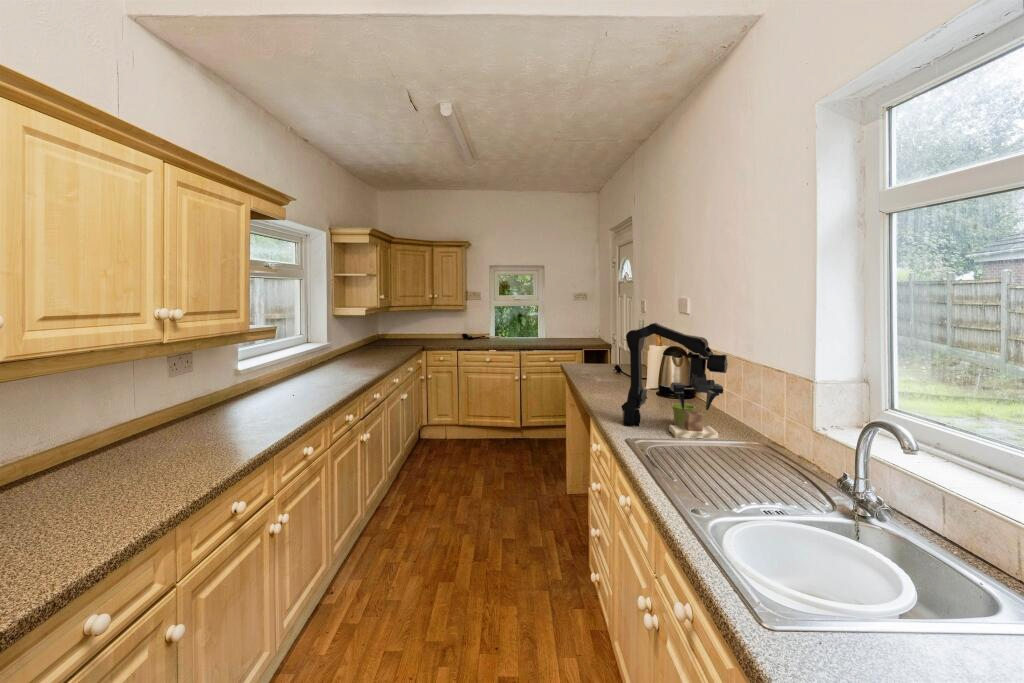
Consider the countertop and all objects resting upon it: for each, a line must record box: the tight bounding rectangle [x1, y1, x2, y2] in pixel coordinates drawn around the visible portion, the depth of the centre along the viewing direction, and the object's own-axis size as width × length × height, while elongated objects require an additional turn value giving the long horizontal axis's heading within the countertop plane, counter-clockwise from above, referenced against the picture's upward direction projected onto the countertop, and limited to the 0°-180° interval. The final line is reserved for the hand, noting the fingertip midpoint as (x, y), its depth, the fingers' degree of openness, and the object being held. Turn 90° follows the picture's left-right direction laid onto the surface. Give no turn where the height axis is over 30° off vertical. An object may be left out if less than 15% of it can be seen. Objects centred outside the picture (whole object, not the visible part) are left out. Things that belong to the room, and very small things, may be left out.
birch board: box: [668, 424, 719, 439], centre depth 196 cm, size 16×10×2 cm, turn 87°
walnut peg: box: [684, 410, 705, 431], centre depth 196 cm, size 6×6×9 cm
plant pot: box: [671, 402, 696, 425], centre depth 208 cm, size 9×9×9 cm
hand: (694, 409), depth 195 cm, fingers open, 9 cm apart
